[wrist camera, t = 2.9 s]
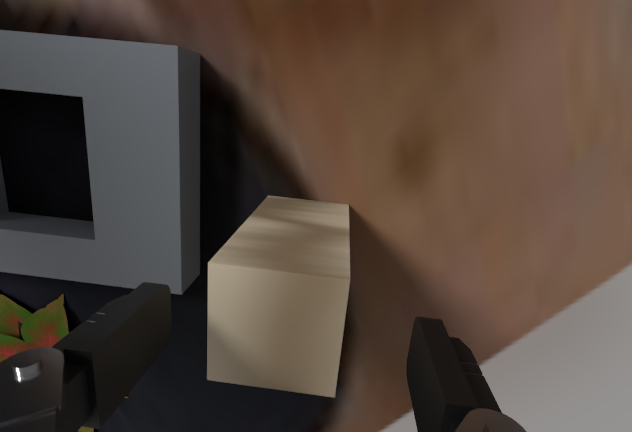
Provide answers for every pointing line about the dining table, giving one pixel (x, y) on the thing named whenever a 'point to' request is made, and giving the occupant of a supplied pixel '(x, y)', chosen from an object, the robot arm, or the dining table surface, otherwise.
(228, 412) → the dining table surface
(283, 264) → the peg
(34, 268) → the dock plate
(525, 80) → the dining table surface
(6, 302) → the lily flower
